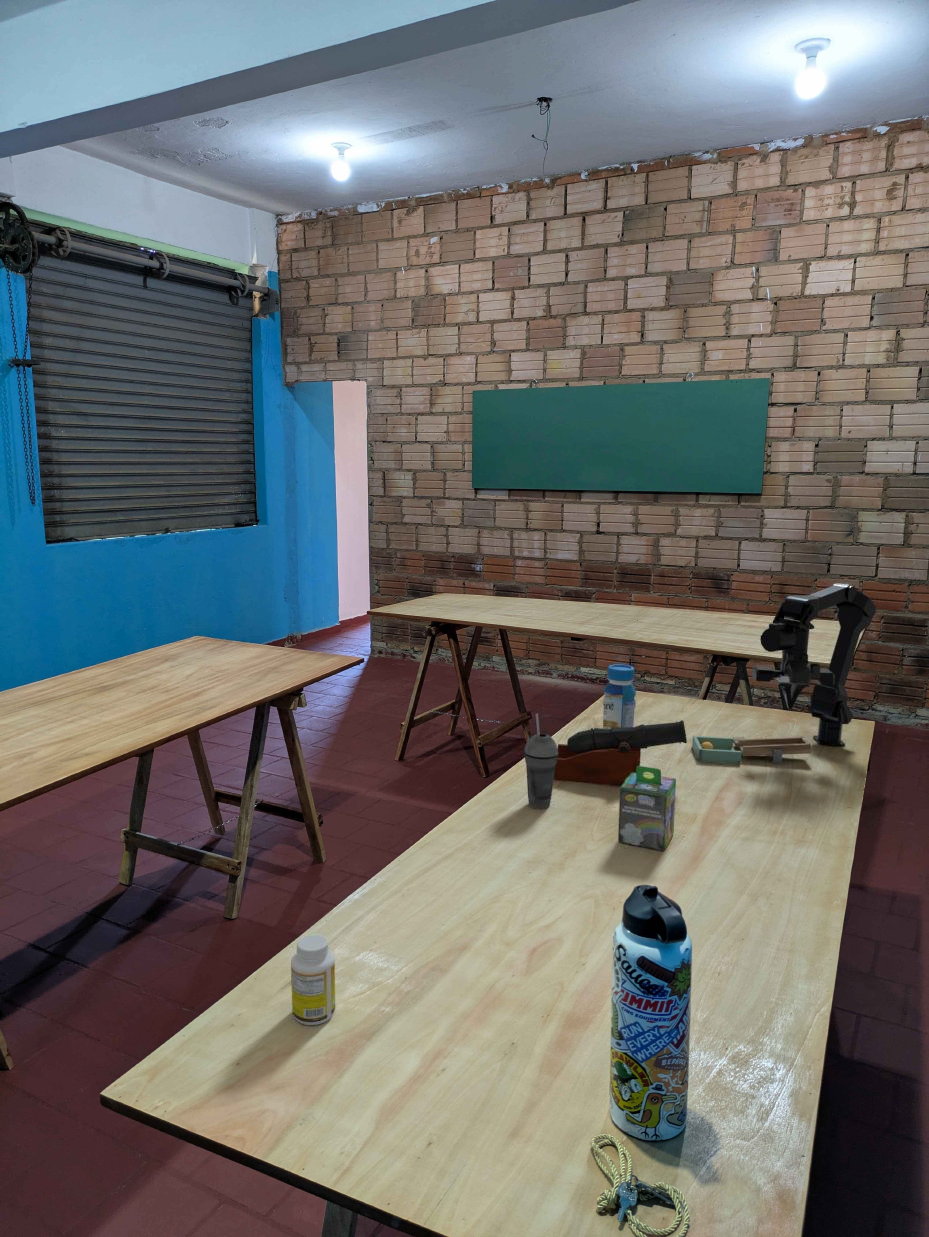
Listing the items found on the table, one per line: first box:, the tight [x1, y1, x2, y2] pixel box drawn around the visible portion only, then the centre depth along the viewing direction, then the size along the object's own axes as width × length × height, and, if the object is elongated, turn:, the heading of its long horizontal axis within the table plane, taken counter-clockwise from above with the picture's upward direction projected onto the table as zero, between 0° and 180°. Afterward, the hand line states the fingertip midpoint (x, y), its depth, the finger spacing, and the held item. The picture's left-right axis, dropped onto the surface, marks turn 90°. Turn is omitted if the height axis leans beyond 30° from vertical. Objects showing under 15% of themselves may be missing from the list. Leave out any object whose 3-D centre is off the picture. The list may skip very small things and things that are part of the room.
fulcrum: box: [767, 749, 783, 765], centre depth 211 cm, size 8×2×4 cm, turn 173°
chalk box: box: [617, 765, 677, 852], centre depth 163 cm, size 9×9×15 cm
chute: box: [731, 736, 812, 757], centre depth 214 cm, size 12×16×2 cm
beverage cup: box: [523, 713, 558, 810], centre depth 178 cm, size 7×7×20 cm
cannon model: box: [553, 720, 688, 788], centre depth 195 cm, size 13×30×15 cm, turn 78°
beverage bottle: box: [602, 663, 637, 729], centre depth 221 cm, size 8×8×20 cm
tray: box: [691, 735, 742, 765], centre depth 213 cm, size 11×10×3 cm
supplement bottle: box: [290, 933, 336, 1026], centre depth 110 cm, size 6×6×10 cm
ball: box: [701, 742, 713, 750], centre depth 213 cm, size 3×3×3 cm
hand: (789, 708), depth 213 cm, fingers closed
